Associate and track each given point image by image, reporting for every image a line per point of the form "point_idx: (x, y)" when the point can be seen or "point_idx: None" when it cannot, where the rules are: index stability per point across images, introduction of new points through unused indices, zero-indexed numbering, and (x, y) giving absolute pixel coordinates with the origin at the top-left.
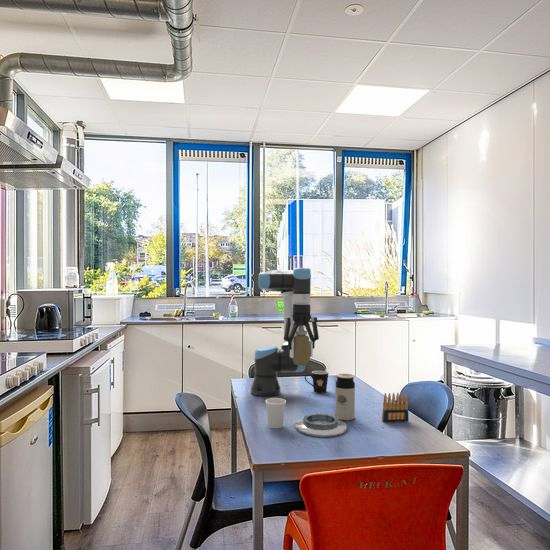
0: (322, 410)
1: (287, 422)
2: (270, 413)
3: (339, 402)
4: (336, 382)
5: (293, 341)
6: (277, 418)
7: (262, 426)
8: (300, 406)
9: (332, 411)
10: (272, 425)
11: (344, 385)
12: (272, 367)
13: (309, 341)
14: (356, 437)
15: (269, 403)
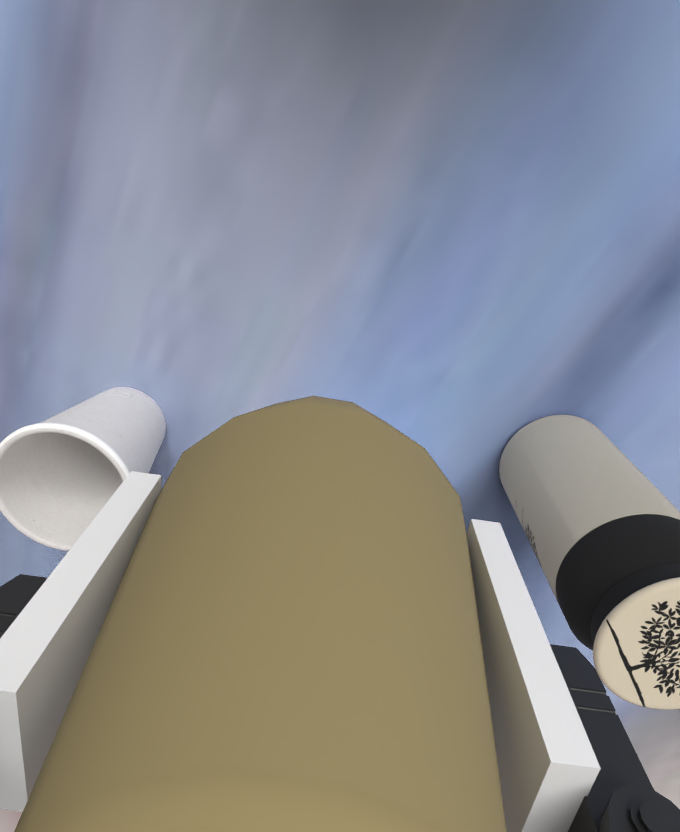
0: (531, 286)
1: (210, 401)
2: (51, 481)
3: (526, 534)
4: (579, 582)
5: (56, 736)
6: (101, 488)
7: (56, 403)
8: (448, 126)
9: (575, 332)
10: (95, 452)
11: (584, 644)
12: None
13: (530, 796)
14: None
15: (7, 519)
